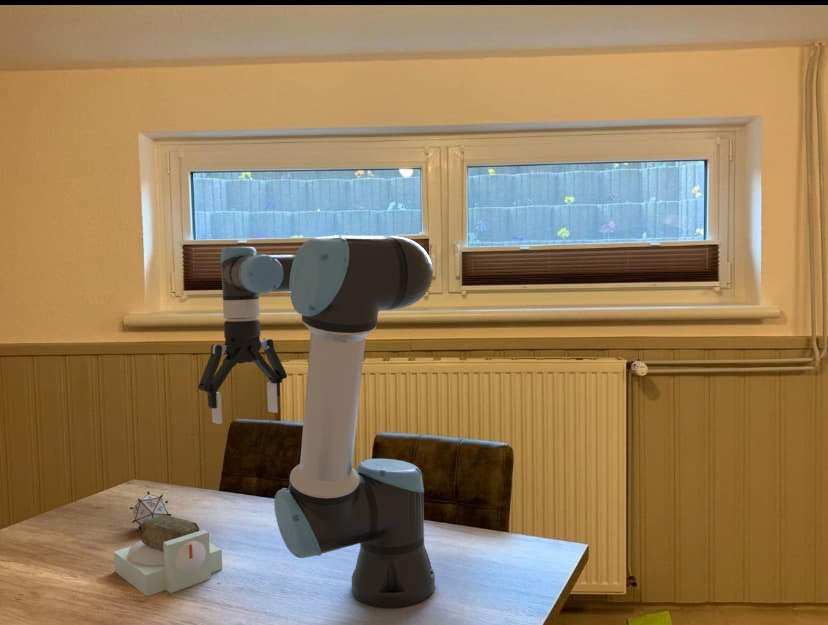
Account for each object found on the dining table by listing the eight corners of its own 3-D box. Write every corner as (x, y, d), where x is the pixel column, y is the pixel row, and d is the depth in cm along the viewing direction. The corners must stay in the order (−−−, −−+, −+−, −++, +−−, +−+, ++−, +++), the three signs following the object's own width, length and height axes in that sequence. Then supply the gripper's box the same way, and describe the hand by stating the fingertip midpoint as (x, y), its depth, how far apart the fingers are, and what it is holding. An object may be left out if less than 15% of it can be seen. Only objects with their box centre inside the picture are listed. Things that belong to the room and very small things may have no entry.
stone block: (179, 557, 127) (177, 531, 126) (139, 546, 133) (137, 521, 132) (203, 546, 132) (201, 521, 131) (163, 536, 138) (162, 512, 137)
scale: (229, 573, 131) (227, 527, 130) (153, 601, 120) (150, 552, 120) (186, 547, 143) (184, 506, 143) (114, 571, 133) (112, 526, 132)
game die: (161, 542, 156) (185, 508, 155) (130, 542, 149) (155, 506, 148) (146, 516, 161) (169, 482, 160) (114, 514, 154) (139, 479, 153)
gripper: (281, 314, 156) (284, 405, 158) (178, 323, 138) (183, 425, 140) (300, 315, 151) (303, 409, 152) (195, 324, 133) (200, 430, 135)
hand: (246, 417), depth 146 cm, fingers open, 13 cm apart
